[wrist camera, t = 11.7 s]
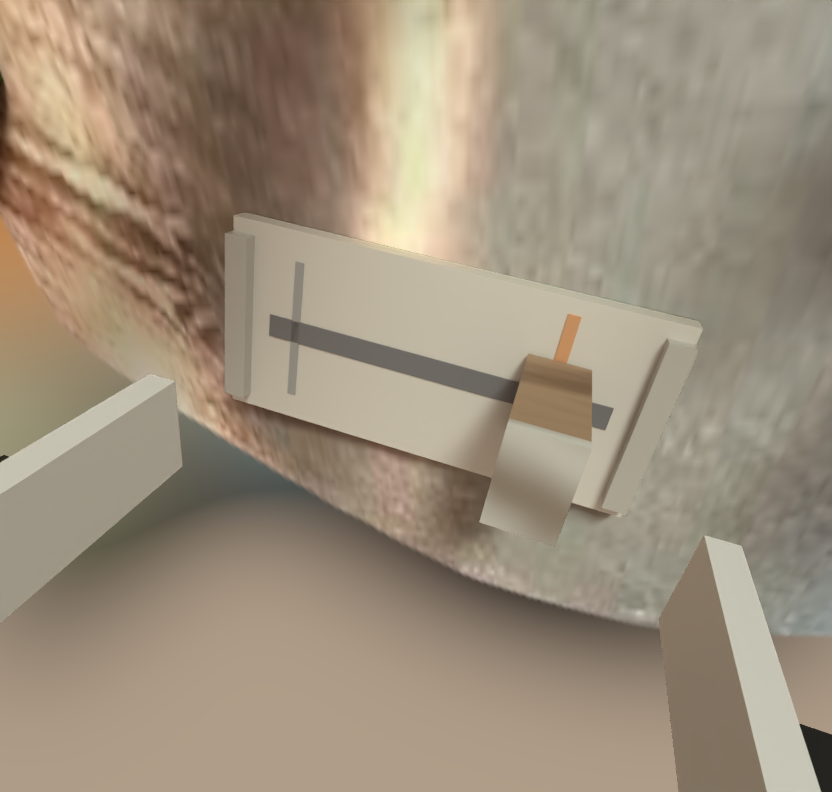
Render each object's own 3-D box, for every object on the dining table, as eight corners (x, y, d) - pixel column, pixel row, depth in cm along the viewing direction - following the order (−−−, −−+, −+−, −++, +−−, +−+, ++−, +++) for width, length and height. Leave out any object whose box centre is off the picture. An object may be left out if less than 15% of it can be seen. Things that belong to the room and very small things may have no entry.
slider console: (245, 212, 38) (224, 217, 36) (698, 321, 33) (706, 334, 31) (242, 390, 45) (224, 403, 42) (619, 504, 39) (620, 526, 37)
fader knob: (528, 353, 35) (506, 425, 26) (592, 370, 34) (591, 450, 25) (505, 433, 37) (479, 522, 29) (563, 450, 37) (554, 546, 28)
